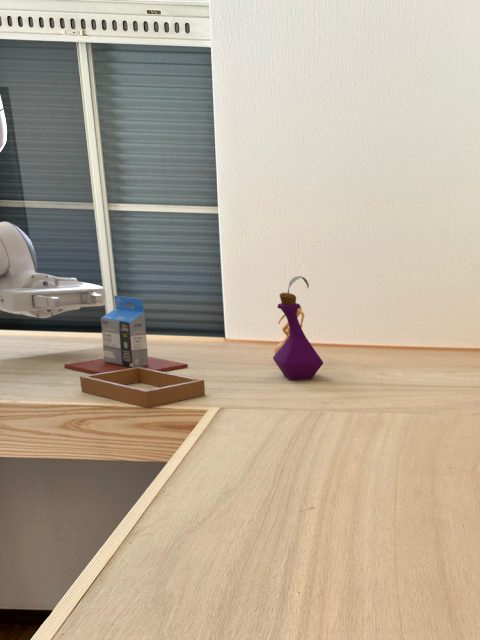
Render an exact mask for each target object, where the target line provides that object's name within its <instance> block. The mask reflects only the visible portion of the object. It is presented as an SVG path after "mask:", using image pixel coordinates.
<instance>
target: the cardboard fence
mask: <svg viewBox="0 0 480 640" xmlns="http://www.w3.org/2000/svg"><path fill="white" fill-rule="evenodd" d="M79 381H80V389H81V392H82V393H86V394H89V395H94V396H98V397H102V398H106V399H110V400H114V401H118V402H122V403H127V404H131V405H135V406H138V407H143V408H147V409H149V408H153V407H158V406H161V405H166V404H171V403H175V402H180V401H185V400H188V399H189V400H190V399H195V398H198V397H203V396H206V389H205V388H206V386H205V380H204V379H201V378H196V377H192V376H191V377H190V376H185V375H180V374H175V373H171V372H167V371H163V372H161V371H157V370H152V369H147V368H142V367H135V368H129V369H123V370H116V371H110V372H104V373H98V374H92V373H91V374H86V375H80V376H79ZM137 383H142V384H146V385H151V386H155V387H156V388H150V389H144V388H139V387H136V386H131V385H132V384H137Z"/></svg>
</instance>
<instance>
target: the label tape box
mask: <svg viewBox="0 0 480 640" xmlns="http://www.w3.org/2000/svg"><path fill="white" fill-rule="evenodd" d="M113 299H114V305H115V308H114V309H113V310H112V311H110V312H108V313H107V314H104V315H103V316H102V317H100V326H101V337H102V350H103V359H104V362H109V363H114V364H119V365H124V366H129V367H144V366H148V357H149V355H148V342H147V341H148V340H147V329H146V328H147V327H146V313H145V312H146V311H145V308H144V303H143V298H138V297H131V296H122V295H113ZM128 303H129V304H130V305H133V306H126V304H128Z"/></svg>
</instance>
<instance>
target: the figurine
mask: <svg viewBox="0 0 480 640" xmlns="http://www.w3.org/2000/svg"><path fill="white" fill-rule="evenodd" d="M300 315H301V317H300ZM285 317H286V315H285V314H284V313H283V314H282V316H281V317H280V319H279V321H278V323H277V325H280V324H281V322H282V320H283V319H284V318H285ZM299 317H300V323H299V324H300V326H301V328H303V323H304V318H305V313H304V312H303V310H302V306H301V305H300V308H299V309H298V310H297V318H298V319H299ZM282 332H283V333H284V334H285V336H286V337H285V338H284V340H282V341H281V342H279V343H278V344H277V345H276V346H275V349H274V355H275V354H276V353H277V352H278V351H279V349H280V348H281V347H282V346H283V345H284V343H285V342H286V340H287V339H288V337H289V334H290V330H289V324H288V320H287V321H286V323H285V324H284V326H282Z"/></svg>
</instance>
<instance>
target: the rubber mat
mask: <svg viewBox="0 0 480 640" xmlns="http://www.w3.org/2000/svg"><path fill="white" fill-rule="evenodd" d="M64 368H65V369H70V370H74V371H77V372H84V373H88V374H91V375H92V374H98V373H104V372H110V371H116V370H123V369H129V368H135V367H129V366H124V365H119V364H114V363H109V362H104V358H98V359H92V360H85V361H79V362H72V363H71V362H70V363H65V364H64ZM142 368H147V369H152V370H157V371H161V372H168V371H173V370H180V369H186V368H189V364H188V363H184V362H178V361H174V360H167V359H162V358H158V357H152V356H148V366H144V367H142Z"/></svg>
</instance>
